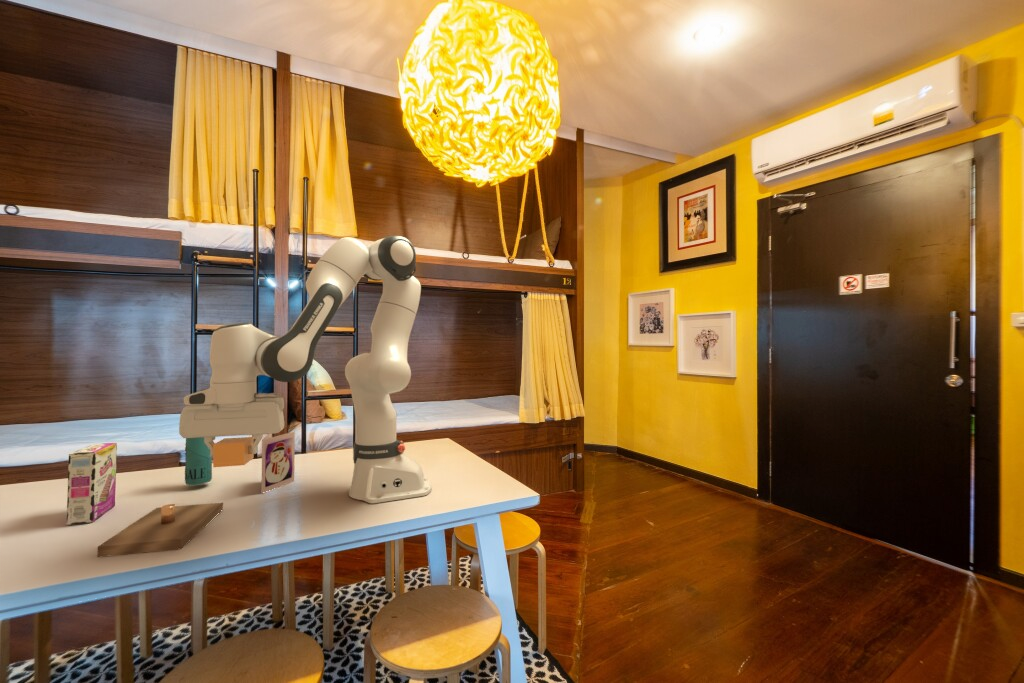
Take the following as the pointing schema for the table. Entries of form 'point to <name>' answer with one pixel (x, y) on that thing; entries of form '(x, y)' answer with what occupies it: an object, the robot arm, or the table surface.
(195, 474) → the beverage bottle
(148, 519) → the base plate
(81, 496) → the candy bar box
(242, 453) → the orange wooden cube
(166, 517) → the post
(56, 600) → the table surface
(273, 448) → the greeting card
